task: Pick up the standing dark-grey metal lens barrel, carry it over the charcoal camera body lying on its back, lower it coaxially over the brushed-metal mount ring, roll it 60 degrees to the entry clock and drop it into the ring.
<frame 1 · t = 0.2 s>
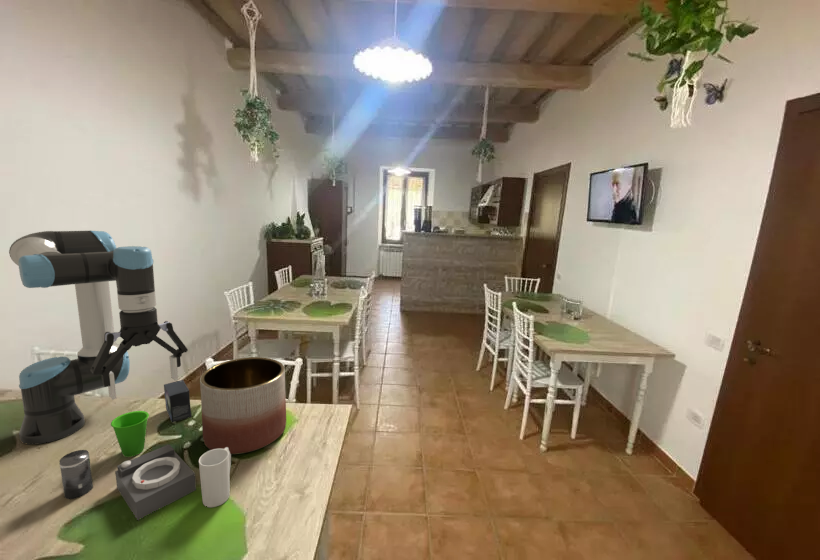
hand: (145, 387, 94), 27 cm above the table, fingers open, 13 cm apart
lens: (78, 491, 94), on the table
mug: (220, 494, 96), on the table
planter: (246, 433, 122), on the table
small box: (178, 414, 131), on the table
camera body: (156, 488, 96), on the table
cup: (133, 452, 110), on the table
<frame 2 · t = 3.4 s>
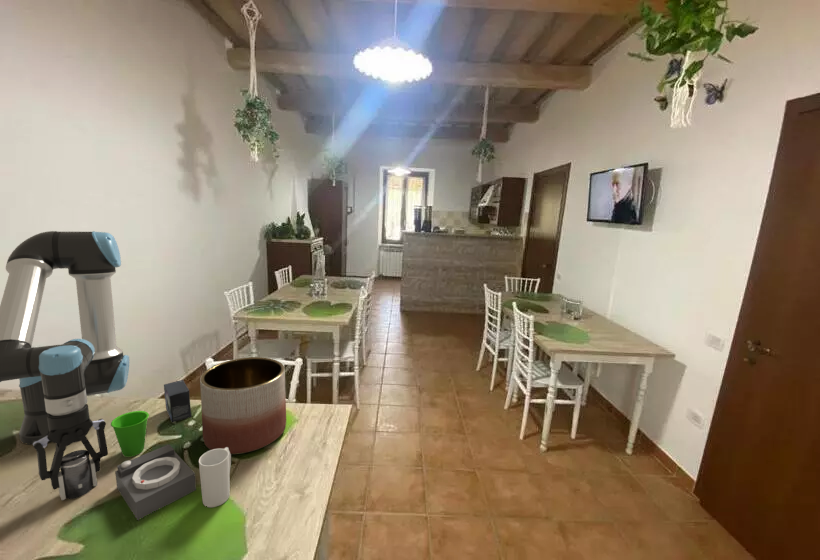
hand: (78, 489, 94), 0 cm above the table, fingers closed on lens, 5 cm apart
lens: (78, 491, 94), on the table, touching gripper
everything else where it was.
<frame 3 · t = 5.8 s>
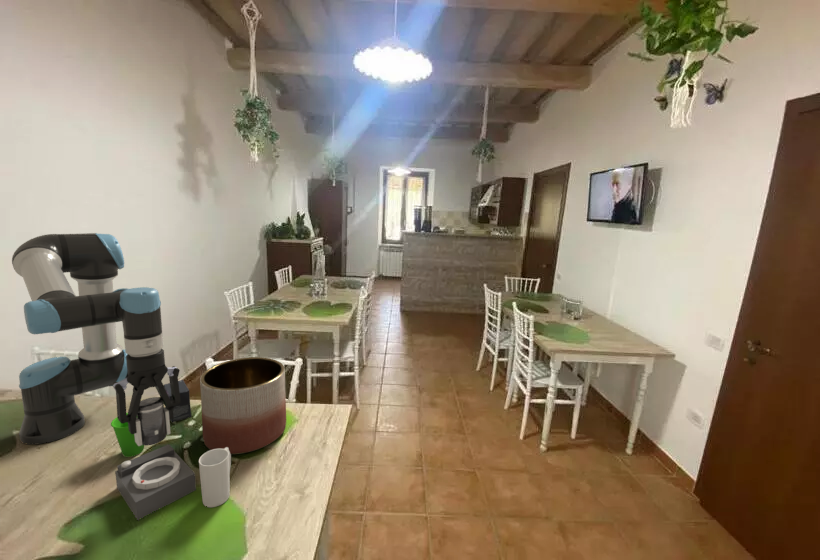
hand: (153, 437, 92), 16 cm above the table, fingers closed on lens, 5 cm apart
lens: (153, 438, 92), point 16 cm above the table, touching gripper
everything else where it was.
when the fingers open (7 cm above the table, at t = 8.6 s): lens drops 2 cm, resting on camera body.
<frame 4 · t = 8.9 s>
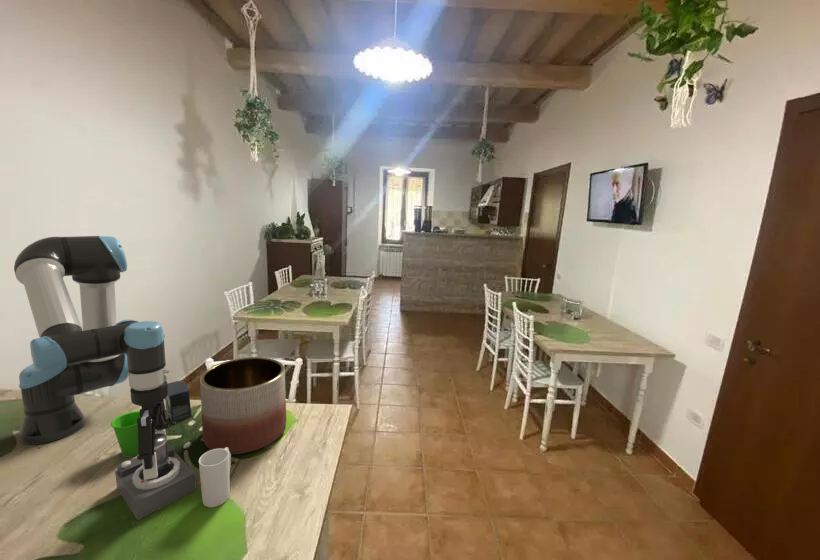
hand: (156, 464, 94), 8 cm above the table, fingers open, 9 cm apart
lens: (157, 474, 94), point 5 cm above the table, touching camera body
everything else where it was.
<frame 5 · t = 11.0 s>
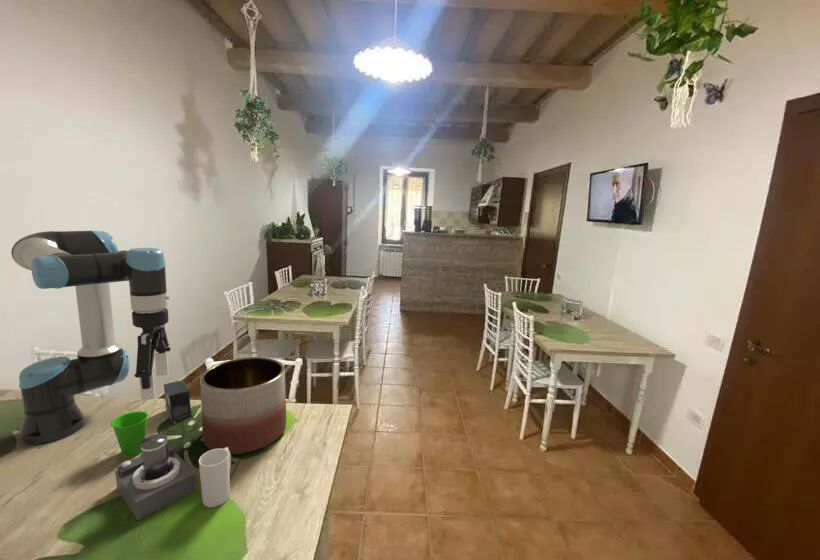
hand: (156, 386, 96), 27 cm above the table, fingers open, 13 cm apart
nothing on the table moved.
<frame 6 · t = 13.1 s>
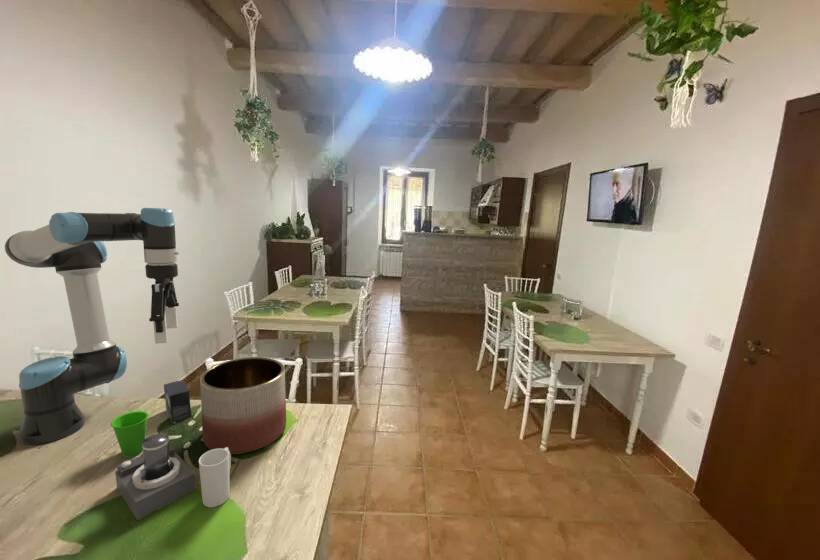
hand: (167, 335, 106), 37 cm above the table, fingers open, 13 cm apart
nothing on the table moved.
at the end: lens 0.1 cm from the target spot on the camera body, point 5.1 cm above the camera body's base; lens tilted 1°; the gripper is holding nothing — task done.
